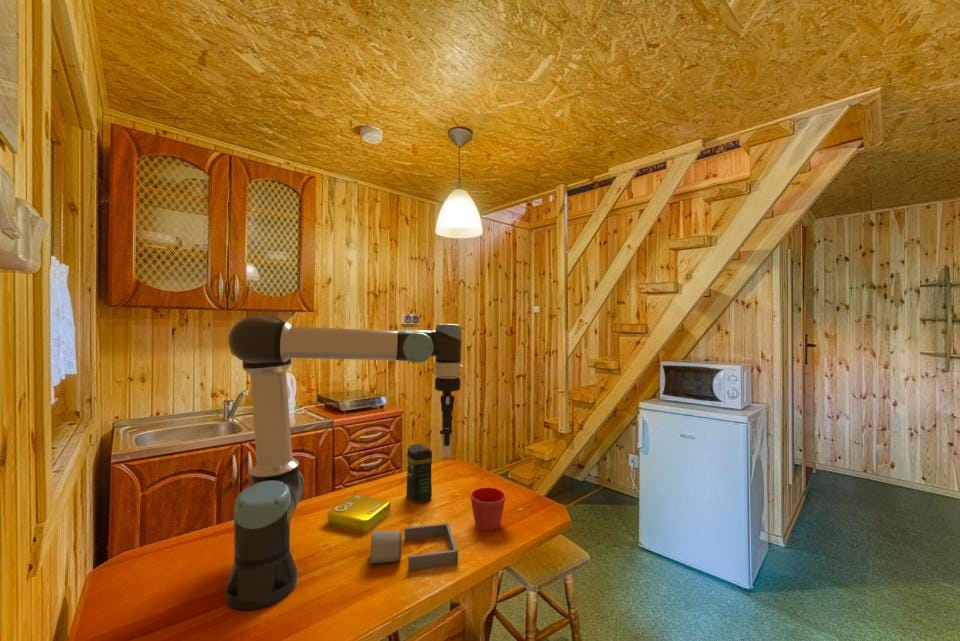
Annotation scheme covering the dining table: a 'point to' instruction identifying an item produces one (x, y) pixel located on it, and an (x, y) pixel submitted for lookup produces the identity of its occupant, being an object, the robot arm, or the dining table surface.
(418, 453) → the coffee jar
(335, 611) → the dining table surface
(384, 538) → the ceramic mug
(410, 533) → the box
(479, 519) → the flower pot
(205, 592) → the dining table surface
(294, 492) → the robot arm
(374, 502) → the element tile
